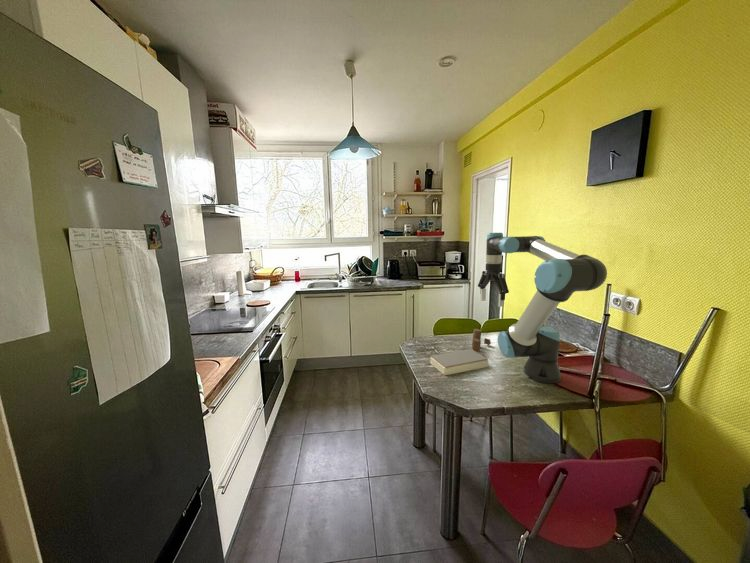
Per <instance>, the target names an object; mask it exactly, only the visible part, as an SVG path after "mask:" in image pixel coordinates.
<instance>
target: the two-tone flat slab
mask: <svg viewBox="0 0 750 563" xmlns="http://www.w3.org/2000/svg"><path fill="white" fill-rule="evenodd" d="M429 360H430V361H429V362H430V364H431V365H432V366H433V367H435V368H436V369H437V370H438V371H439V372H440V373H441V374H443V375H444V376H448V375H454V374H459V373H464V372H468V371H474V370H479V369H484V368H488V367H489V360H488V358H487V357H486V356H484V355H482V354H480V353H479V352H475V351H474V350H473V349H472V348H470V349H464V350H458V351H453V352H447V353H440V354H435V355H431V356H430V358H429Z"/></svg>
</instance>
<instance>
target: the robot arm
mask: <svg viewBox="0 0 750 563" xmlns="http://www.w3.org/2000/svg"><path fill="white" fill-rule="evenodd" d="M485 241H486V251H485V252H486V255H485V270H482V272H481V277H480V278H479V279H480V280H479V282H478V284H477V287H478V288H479V289H480V301H481V302H485V301H486V297H487V286H488V284H489V283H490V282H491V281H492V282H494V283H495V286H496V287H497V289H498V291H499V293H498V307H499V308H501V307H502V308H503V307H505V300H506V294H509V293H510V290H509V288H508V284H507V282H506V281H507V280H506V276H505V275H506V274H505V273H501V271H502V266H503V265H502V261H503V253H504V254H513V253H529V254H531V255H533V256H536V257H537V258H538V259H539V258H540V259H541V260H542V261H543V262H541V263H540V264H539V265H538V266H537V268H536V270H535V271H534V276H535V277H534V279H533V280H534V284H535V288H536V292H535V293H534V295H533V296H532V298H531V299H530V302H529V303H528V305H527V306H526V308H525V309H524V311H523V312H522V314H521V316H520V317H519V319H518V320H517V322H516V323H513V324H511V325H510V326H509V328H508V329H507V330H506V331H505V330H503V331H500V332H498V335H497V345H498V348H499V350H500V353H501V354H502V355H503V356H504V357H505V358H512V359H514V358H516V359H517V358H525V357H526V358H527V360H526V362H525V365H524V366H523V373H524V374H525V375H526V376H527V377H528V379H530V380H533V381H535V382H539V383H543V384H557V383H559V382H561V380H562V374H561V370H560V367H559V363H558V361H559V350H560V342H561V340H560V339H561V338H560V337H561V336H560V332H559V331H558V330H556V329H554V328H552V327H549V326H546V325H545V323H546V322H547V320H548V319H549V318H550V317H551V315H552V314H553V313H554V311H555V310H556V308H557V307H558V306H559V305H560V303H565V302H567V301H568V300H569V299H570V298H571V296H572V295H573V294H574V293H575V292H588V291H593V290H596V289H598V288H599V287H601V286H602V285H603V284H604V282H606V280H607V277H608V276H607V275H608V272H607V267H606V265H605V264H604V263H603V261H601V260H599V259H598V258H595V257H593V256H590V255H587V254H578V253H575V252H573V251H570V250H567V249H566V248H563V247H560V246H558V245H555V244H553V243H551V242H548V241H546V239H545V238H544V237H543V236H540V235H539V236H538V235H529V236H527V235H526V236H504V234H503V232H489V233H487V234H486V240H485ZM544 325H545V326H544Z"/></svg>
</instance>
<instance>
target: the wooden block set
mask: <svg viewBox="0 0 750 563" xmlns="http://www.w3.org/2000/svg"><path fill="white" fill-rule="evenodd" d="M482 332H483V330H481V329H479V328H473V333H472V334H473V335H472V341H471V347H472V348H471V349H472V350H474V351H475V352H477V353H479V352H480V350H481V345H482V344H481V342H482V341H481V339H482ZM483 343H484V345H488V346H490V345H491V344H492V343H491V338H486V337H485V338H484V340H483Z"/></svg>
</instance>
